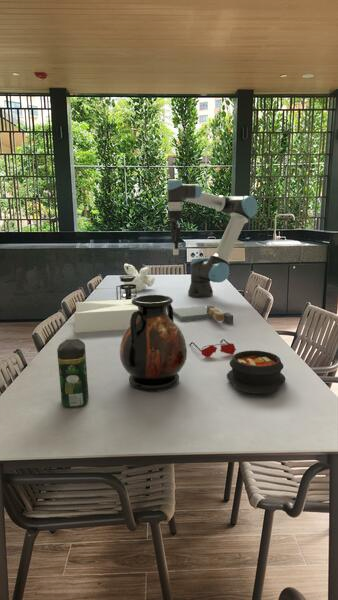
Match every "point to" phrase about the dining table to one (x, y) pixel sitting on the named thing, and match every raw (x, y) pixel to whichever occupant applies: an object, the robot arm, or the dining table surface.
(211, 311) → the hinged leg
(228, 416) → the dining table surface
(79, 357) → the coffee jar
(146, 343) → the amphora vase
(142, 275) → the white lobed sculpture
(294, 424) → the dining table surface
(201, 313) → the stool seat
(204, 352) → the glasses
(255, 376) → the casserole
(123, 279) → the french press
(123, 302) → the building model
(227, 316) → the block
